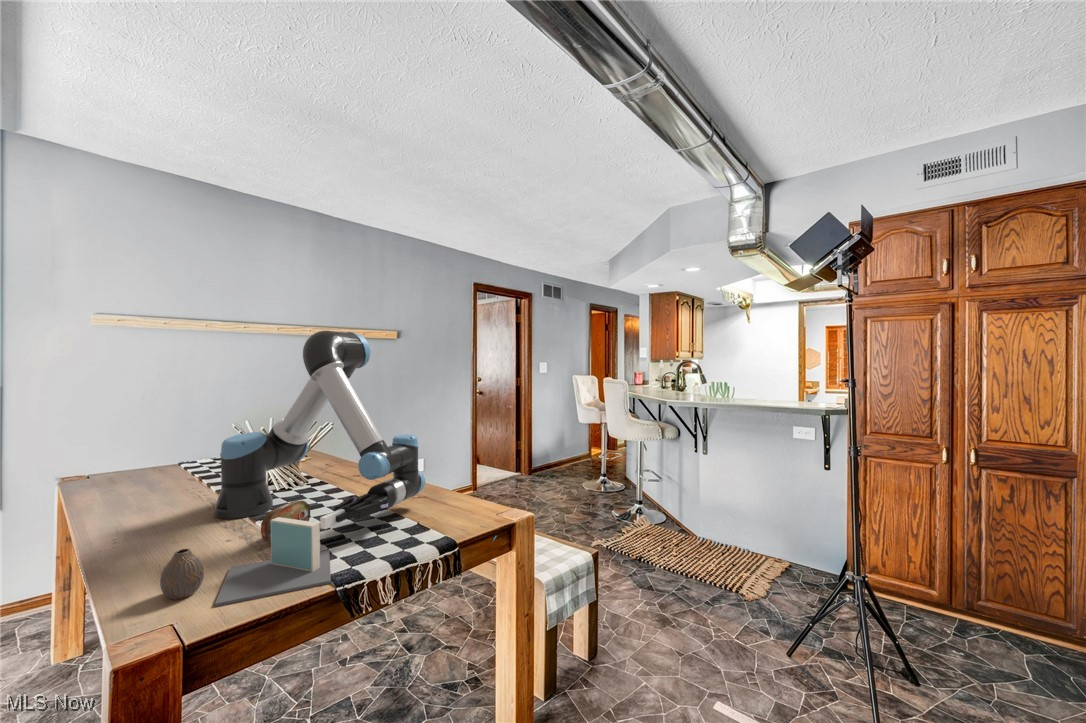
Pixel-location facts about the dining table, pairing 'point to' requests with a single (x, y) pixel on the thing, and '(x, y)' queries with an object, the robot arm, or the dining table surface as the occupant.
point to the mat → (270, 580)
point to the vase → (182, 575)
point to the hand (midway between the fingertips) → (322, 523)
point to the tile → (295, 544)
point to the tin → (285, 516)
